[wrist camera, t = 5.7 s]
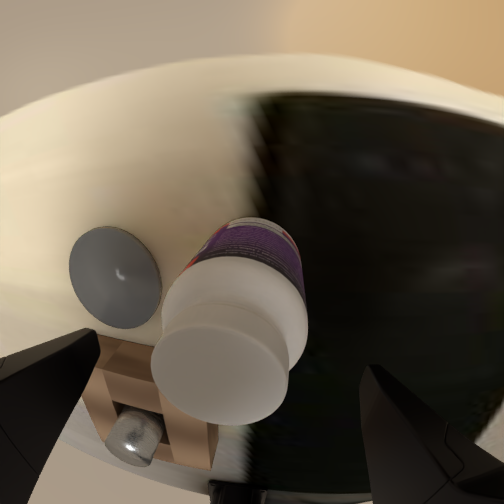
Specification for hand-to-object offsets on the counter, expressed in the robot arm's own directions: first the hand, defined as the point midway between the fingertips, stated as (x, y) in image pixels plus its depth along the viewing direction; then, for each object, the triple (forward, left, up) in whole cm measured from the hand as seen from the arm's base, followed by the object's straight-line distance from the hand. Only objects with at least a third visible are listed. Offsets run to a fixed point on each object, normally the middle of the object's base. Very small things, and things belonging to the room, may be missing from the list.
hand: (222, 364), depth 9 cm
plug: (-12, +7, -8) cm, 16 cm away
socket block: (-12, +7, -9) cm, 16 cm away
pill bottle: (0, 0, -9) cm, 9 cm away
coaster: (-2, +9, -9) cm, 13 cm away
